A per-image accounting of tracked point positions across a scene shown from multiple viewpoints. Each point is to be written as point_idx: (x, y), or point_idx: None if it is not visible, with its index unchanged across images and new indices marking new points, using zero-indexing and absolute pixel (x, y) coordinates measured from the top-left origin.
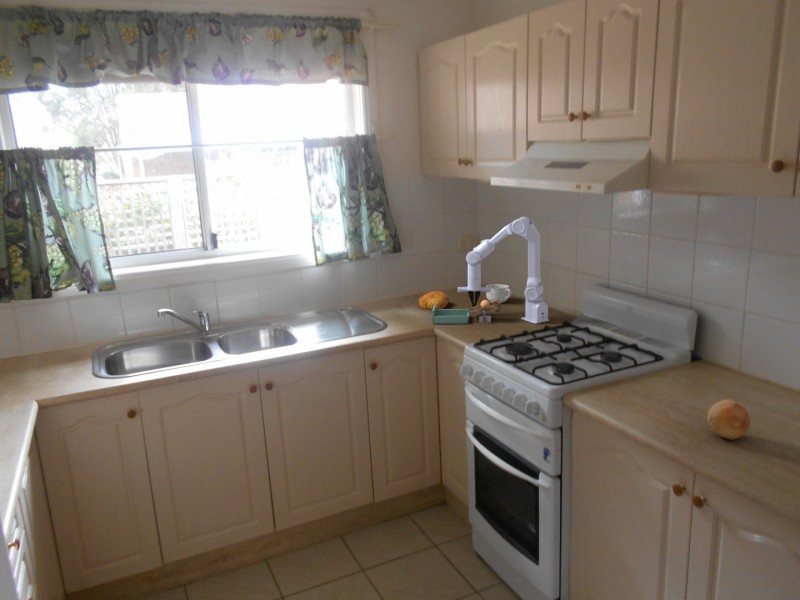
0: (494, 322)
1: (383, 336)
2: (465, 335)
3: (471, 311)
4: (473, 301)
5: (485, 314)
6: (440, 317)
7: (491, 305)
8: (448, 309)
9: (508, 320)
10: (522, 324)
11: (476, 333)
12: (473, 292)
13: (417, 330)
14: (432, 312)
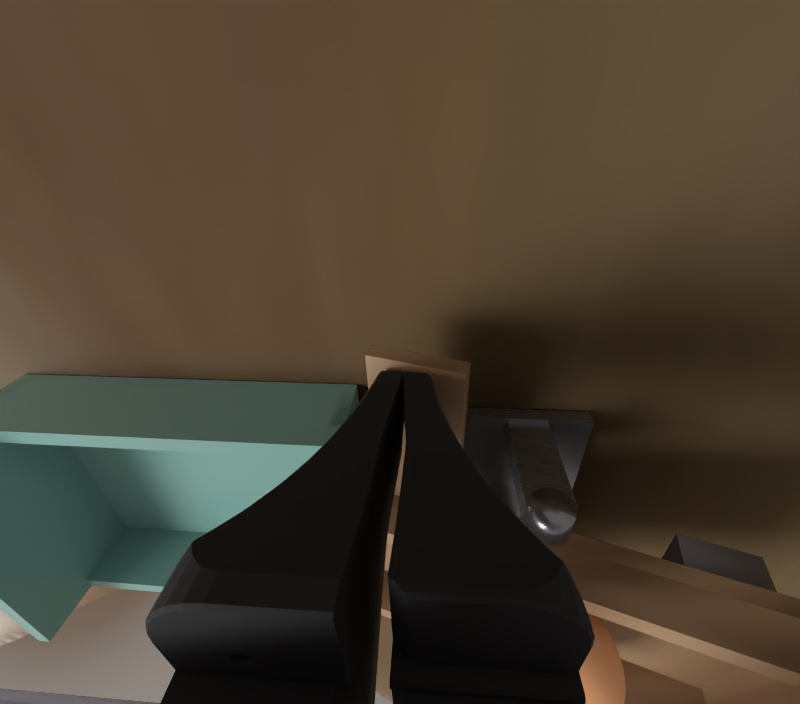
0: (583, 530)
1: (8, 626)
2: (378, 657)
3: (385, 614)
4: (385, 532)
5: None
6: (147, 579)
7: (649, 591)
8: (98, 444)
9: (731, 501)
10: (795, 580)
11: None
12: (352, 700)
13: (105, 591)
14: (54, 621)
